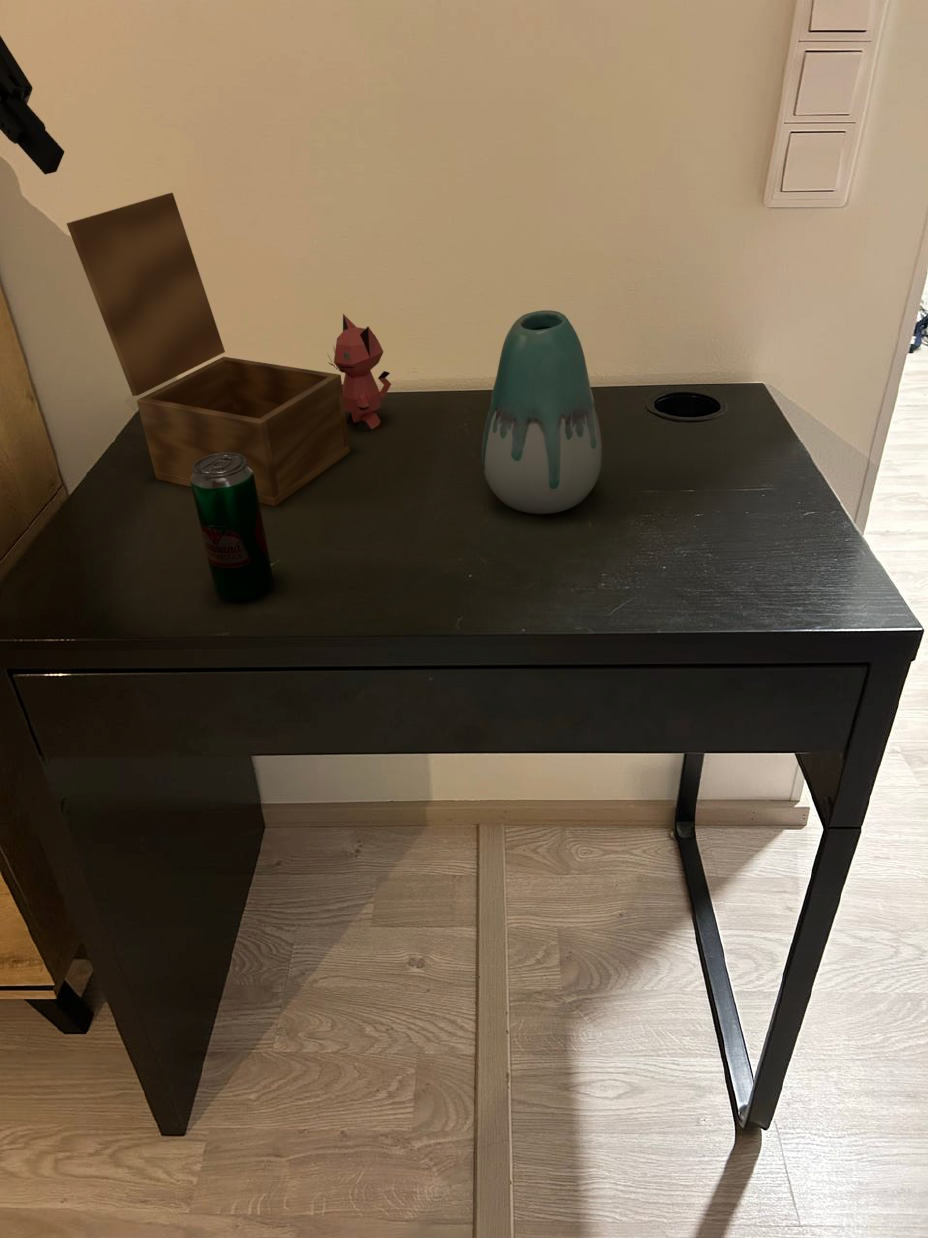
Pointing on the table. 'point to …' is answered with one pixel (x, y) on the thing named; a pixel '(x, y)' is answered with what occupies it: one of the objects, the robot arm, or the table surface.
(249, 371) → the chest
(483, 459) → the vase
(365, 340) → the cat figurine
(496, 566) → the table surface
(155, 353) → the chest lid
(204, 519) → the soda can
